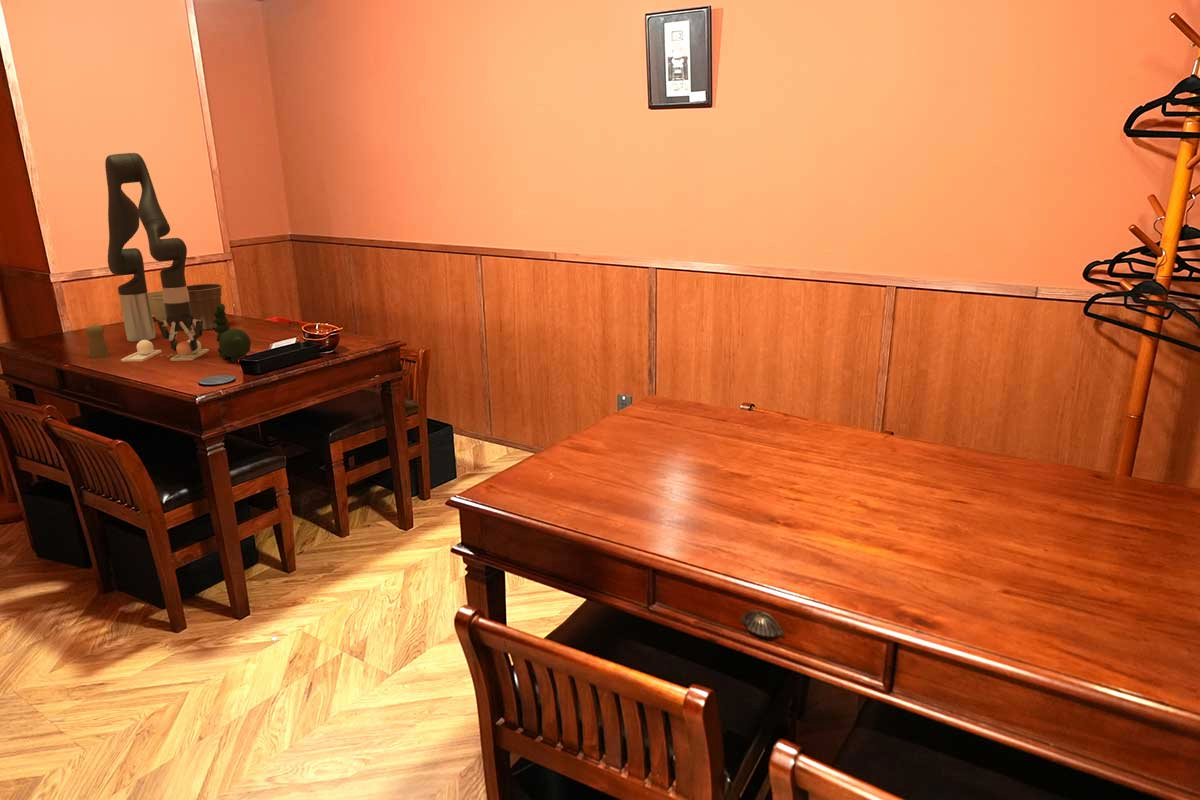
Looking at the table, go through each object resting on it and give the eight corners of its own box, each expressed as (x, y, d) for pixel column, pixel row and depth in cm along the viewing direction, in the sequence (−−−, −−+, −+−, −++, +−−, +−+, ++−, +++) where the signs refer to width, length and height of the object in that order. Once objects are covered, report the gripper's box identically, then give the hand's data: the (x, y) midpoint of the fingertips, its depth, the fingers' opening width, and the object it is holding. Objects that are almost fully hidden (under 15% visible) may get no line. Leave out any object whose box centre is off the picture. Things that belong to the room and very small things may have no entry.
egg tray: (141, 353, 278) (140, 350, 278) (161, 353, 278) (161, 349, 278) (121, 363, 266) (120, 359, 265) (143, 362, 266) (142, 359, 266)
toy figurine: (211, 359, 276) (228, 367, 256) (201, 304, 272) (218, 308, 252) (240, 355, 281) (259, 363, 261) (231, 301, 277) (250, 304, 257)
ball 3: (189, 351, 278) (187, 337, 276) (204, 351, 278) (202, 337, 276) (183, 355, 273) (180, 340, 271) (198, 355, 273) (196, 340, 272)
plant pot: (185, 333, 309) (178, 291, 304) (180, 326, 322) (173, 286, 317) (231, 328, 318) (225, 287, 313) (224, 321, 331) (218, 282, 326)
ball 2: (181, 354, 272) (179, 339, 270) (196, 354, 272) (194, 339, 270) (174, 357, 267) (172, 343, 265) (190, 357, 267) (187, 342, 266)
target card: (163, 355, 276) (162, 352, 276) (180, 355, 276) (180, 351, 276) (151, 361, 268) (150, 357, 268) (169, 361, 269) (169, 357, 268)
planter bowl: (138, 322, 331) (133, 296, 328) (164, 315, 346) (160, 289, 343) (173, 323, 328) (169, 296, 325) (198, 315, 343) (194, 290, 340)
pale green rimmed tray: (188, 352, 279) (187, 349, 278) (209, 352, 279) (208, 348, 279) (170, 362, 266) (170, 358, 266) (192, 361, 266) (191, 358, 266)
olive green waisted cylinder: (114, 355, 276) (108, 323, 273) (102, 359, 270) (95, 327, 267) (97, 355, 277) (91, 323, 273) (85, 359, 271) (78, 327, 268)
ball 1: (142, 352, 277) (139, 338, 276) (157, 352, 277) (154, 338, 276) (135, 356, 272) (132, 341, 271) (150, 356, 272) (147, 341, 271)
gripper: (204, 298, 268) (211, 347, 273) (159, 298, 267) (168, 348, 272) (194, 302, 261) (202, 353, 266) (148, 302, 260) (157, 354, 265)
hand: (185, 350), depth 269 cm, fingers open, 5 cm apart
